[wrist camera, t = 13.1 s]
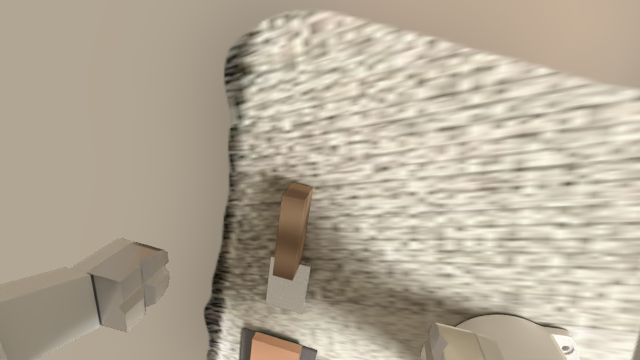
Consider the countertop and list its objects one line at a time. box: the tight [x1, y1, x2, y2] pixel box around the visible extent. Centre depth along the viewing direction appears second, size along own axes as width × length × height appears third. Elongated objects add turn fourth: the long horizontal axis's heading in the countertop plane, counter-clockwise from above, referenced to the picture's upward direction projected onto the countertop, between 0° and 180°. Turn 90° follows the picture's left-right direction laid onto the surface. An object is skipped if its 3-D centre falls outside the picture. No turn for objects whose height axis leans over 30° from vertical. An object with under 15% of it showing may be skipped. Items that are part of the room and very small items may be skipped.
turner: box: [266, 182, 313, 314], centre depth 41 cm, size 21×6×4 cm, turn 171°
